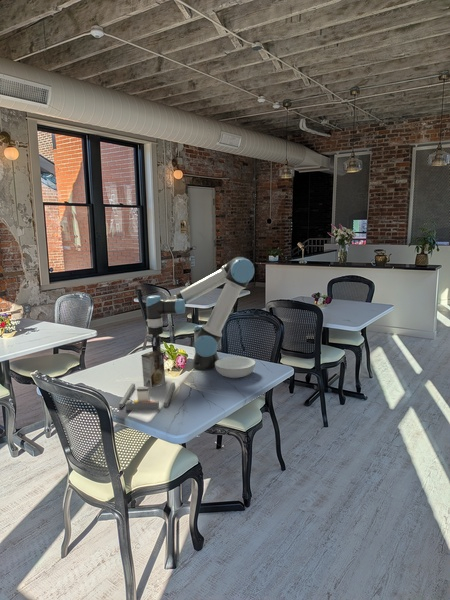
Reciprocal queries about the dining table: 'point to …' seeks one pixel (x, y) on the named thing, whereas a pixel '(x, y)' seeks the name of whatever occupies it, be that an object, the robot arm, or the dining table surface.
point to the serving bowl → (235, 366)
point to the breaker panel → (144, 404)
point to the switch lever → (143, 394)
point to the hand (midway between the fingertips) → (158, 370)
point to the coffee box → (153, 369)
